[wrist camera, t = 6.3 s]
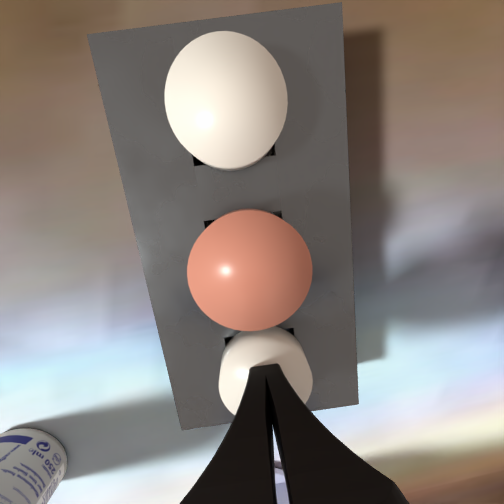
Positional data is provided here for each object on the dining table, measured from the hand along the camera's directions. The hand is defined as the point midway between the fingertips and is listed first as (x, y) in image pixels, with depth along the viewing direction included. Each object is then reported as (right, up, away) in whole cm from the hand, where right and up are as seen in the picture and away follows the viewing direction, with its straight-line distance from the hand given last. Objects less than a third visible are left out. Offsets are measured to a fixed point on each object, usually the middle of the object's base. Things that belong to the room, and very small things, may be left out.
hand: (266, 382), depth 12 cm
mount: (-1, +7, +3) cm, 7 cm away
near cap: (-2, +12, +1) cm, 13 cm away
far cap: (0, +1, +4) cm, 4 cm away
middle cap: (-1, +6, +1) cm, 6 cm away
